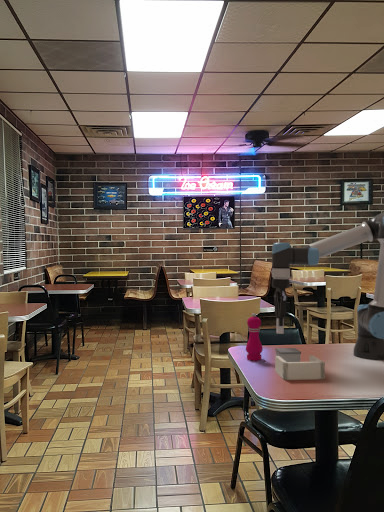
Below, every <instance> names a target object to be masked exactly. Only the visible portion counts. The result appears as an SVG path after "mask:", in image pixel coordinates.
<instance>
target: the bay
mask: <svg viewBox="0 0 384 512" xmlns="http://www.w3.org/2000/svg"><path fill="white" fill-rule="evenodd" d="M274 363H275V364H274V367H275V368H274V369H275V371H274V372H275V373H276V374H277V375H278V376H279V377H280V378H281V379H283V381H298V380H300V381H301V380H305V381H307V380H325V378H326V376H325V375H326V373H325V372H326V371H325V365H326V364H325V362H324V361H323V360H321V359H320V358H318V357H316V356H315V355H314V354H312V355H311V354H310V355H309V359H308V361H300V362H286V361H285V360H284V359H282V358H281V357H280V356H276V355H275V357H274Z"/></svg>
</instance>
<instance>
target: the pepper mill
mask: <svg viewBox="0 0 384 512" xmlns="http://www.w3.org/2000/svg"><path fill="white" fill-rule="evenodd" d="M246 322H247V323H246V324H247V326H248V333H249V337H248V341H247V343H246V345H245V352H246V353H247V354H246V359H247V360H248V361H254V362H257V361H261V360H262V352H263V345H262V342H261V339H260V336H259V335H260V332H261V330H260V329H261V328H260V327H261V325H262V320H261V318H259V317H258V316H257V313H255V312H253V313H252V314H251V316H250V317H249V318H248V319H247V321H246Z"/></svg>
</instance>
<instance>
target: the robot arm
mask: <svg viewBox="0 0 384 512" xmlns="http://www.w3.org/2000/svg"><path fill="white" fill-rule="evenodd" d="M374 241H378V242H379V243H380V244H379V245H380V248H379V254H378V255H379V256H378V263H377V269H376V275H375V276H376V277H375V282H374V283H375V286H374V292H373V297H372V299H373V300H371V301H370V302H369V303H368V304H359V305H358V306H357V311H356V314H357V315H356V316H357V319H356V320H357V339H356V342H355V344H354V346H353V355H354V356H355V357H357V358H361V359H367V360H368V359H369V360H384V211H383V212H381V213H379V214H376V215H375V216H373V217H371V218H370V219H367V220H365V221H362V223H361V225H360V224H359V225H358V226H355V227H352V228H350V229H347V230H344V231H342V232H339V233H337V234H333V235H332V236H328V237H326V238H324V239H323V238H322V239H320V240H317V241H315V242H312V243H309V244H307V245H305V246H304V245H303V246H302V247H292V246H291V243H289V242H274V243H273V244H272V248H271V249H272V250H271V251H272V252H271V267H272V268H271V271H270V273H271V277H272V279H271V287H272V288H273V289H275V291H274V293H273V298H274V299H273V300H274V315H275V317H276V329H275V330H276V331H275V332H276V334H280V335H281V334H283V335H284V332H285V331H284V327H285V325H284V324H285V323H284V322H285V318H286V316H287V315H286V314H287V304H288V303H287V302H288V295H287V292H286V291H287V290H286V289H289V288H290V286H291V285H290V278H291V266H311V267H312V266H318V264H319V261H320V259H321V258H324V257H326V256H327V257H328V256H330V255H332V254H335V253H338V252H340V251H344V250H346V249H348V248H351V247H354V246H357V245H360V244H362V243H365V242H369V243H371V242H374Z"/></svg>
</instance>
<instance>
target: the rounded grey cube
mask: <svg viewBox="0 0 384 512" xmlns="http://www.w3.org/2000/svg"><path fill="white" fill-rule="evenodd" d="M274 349H275V350H274V351H275V356H280V357H281V358H282V359H284V360H285V361H286V362H301V354H302V351H300V349H297V348H296V347H285V348H284V347H282V348H281V347H279V348H277V347H276V348H274Z"/></svg>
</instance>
